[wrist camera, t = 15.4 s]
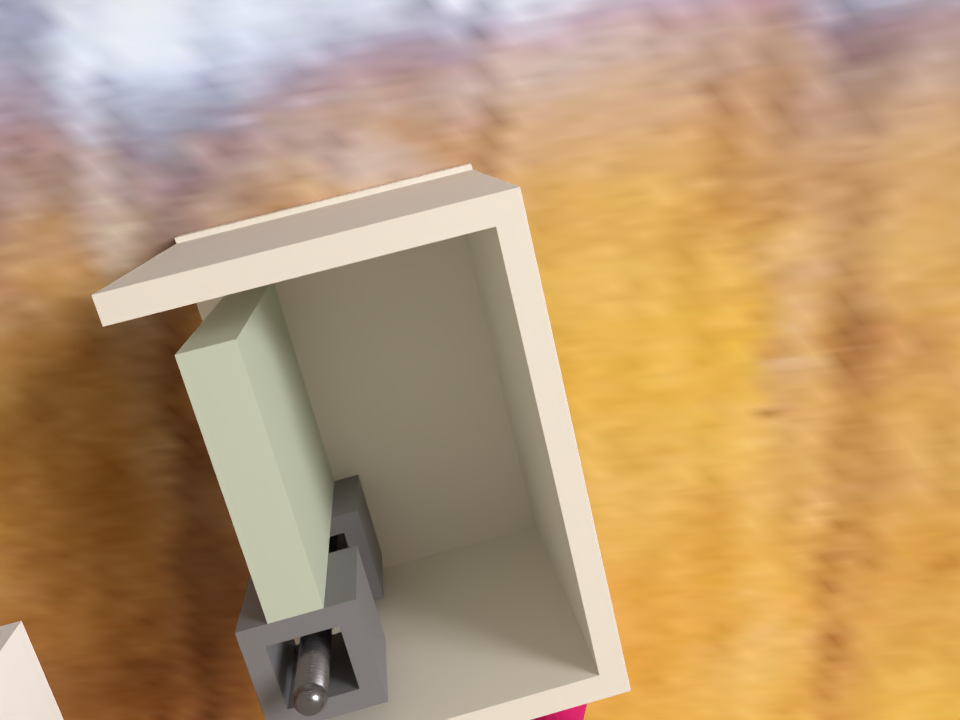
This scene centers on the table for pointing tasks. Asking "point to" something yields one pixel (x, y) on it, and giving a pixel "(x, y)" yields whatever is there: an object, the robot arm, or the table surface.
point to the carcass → (432, 430)
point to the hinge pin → (313, 667)
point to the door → (285, 509)
